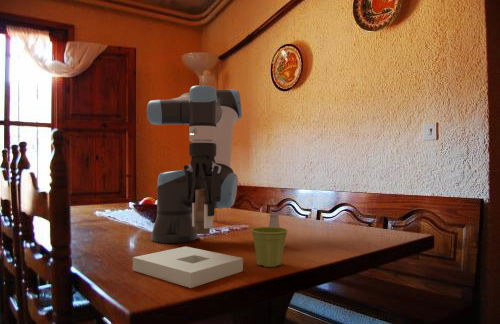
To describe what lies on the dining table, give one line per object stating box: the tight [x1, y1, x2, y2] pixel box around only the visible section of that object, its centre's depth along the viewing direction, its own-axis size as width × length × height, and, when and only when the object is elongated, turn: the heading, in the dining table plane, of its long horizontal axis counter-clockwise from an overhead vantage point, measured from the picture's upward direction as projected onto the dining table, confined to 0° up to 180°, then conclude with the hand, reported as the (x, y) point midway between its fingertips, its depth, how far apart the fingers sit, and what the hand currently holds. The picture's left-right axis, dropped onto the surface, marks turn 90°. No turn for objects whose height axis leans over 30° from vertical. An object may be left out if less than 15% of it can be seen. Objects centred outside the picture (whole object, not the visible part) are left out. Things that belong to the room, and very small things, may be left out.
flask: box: [268, 212, 286, 247], centre depth 113 cm, size 7×7×10 cm
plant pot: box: [250, 226, 289, 268], centre depth 91 cm, size 9×9×9 cm
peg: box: [195, 189, 211, 235], centre depth 101 cm, size 4×4×12 cm
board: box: [132, 246, 244, 289], centre depth 85 cm, size 20×16×3 cm
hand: (202, 226), depth 101 cm, fingers closed on peg, 4 cm apart
